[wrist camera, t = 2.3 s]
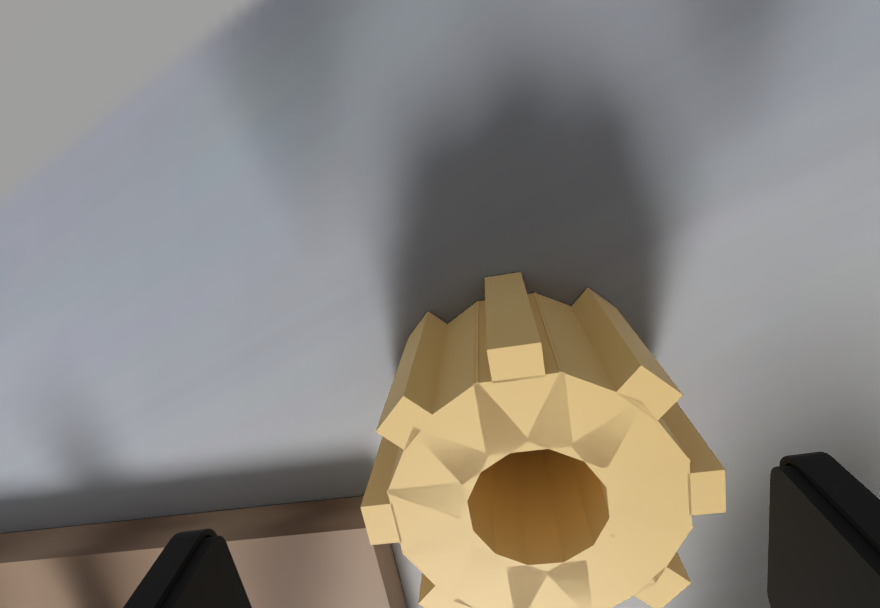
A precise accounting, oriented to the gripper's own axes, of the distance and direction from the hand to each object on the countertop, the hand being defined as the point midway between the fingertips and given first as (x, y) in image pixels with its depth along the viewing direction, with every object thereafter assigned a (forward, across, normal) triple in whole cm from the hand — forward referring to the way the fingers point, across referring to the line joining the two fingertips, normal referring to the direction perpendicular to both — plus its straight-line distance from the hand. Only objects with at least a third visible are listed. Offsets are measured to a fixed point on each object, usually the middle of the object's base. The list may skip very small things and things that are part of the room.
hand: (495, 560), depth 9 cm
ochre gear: (+7, -1, +1) cm, 7 cm away
